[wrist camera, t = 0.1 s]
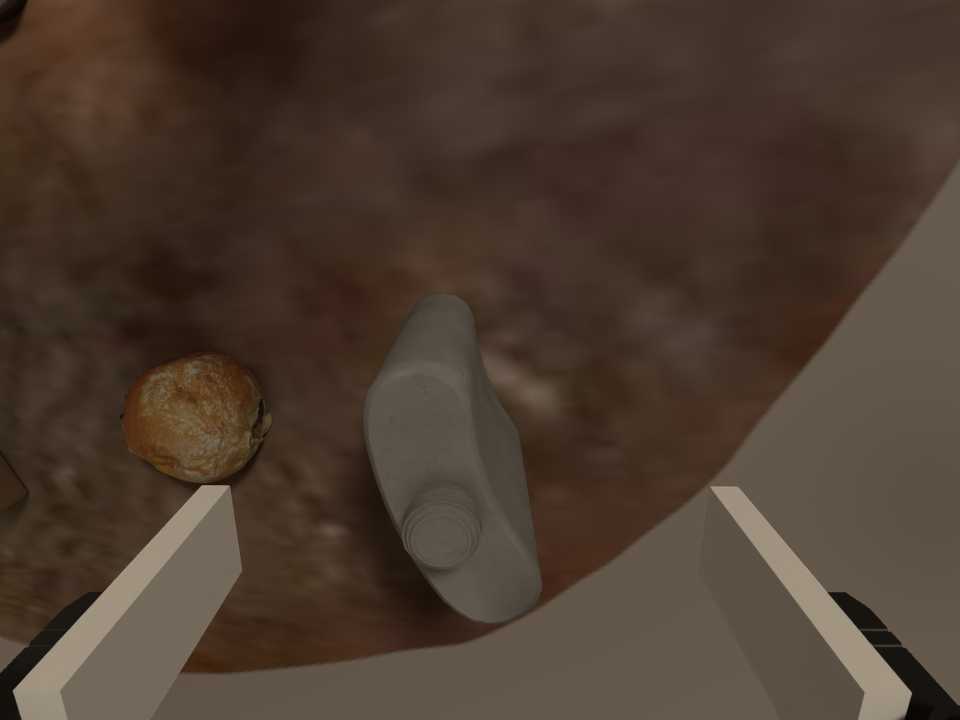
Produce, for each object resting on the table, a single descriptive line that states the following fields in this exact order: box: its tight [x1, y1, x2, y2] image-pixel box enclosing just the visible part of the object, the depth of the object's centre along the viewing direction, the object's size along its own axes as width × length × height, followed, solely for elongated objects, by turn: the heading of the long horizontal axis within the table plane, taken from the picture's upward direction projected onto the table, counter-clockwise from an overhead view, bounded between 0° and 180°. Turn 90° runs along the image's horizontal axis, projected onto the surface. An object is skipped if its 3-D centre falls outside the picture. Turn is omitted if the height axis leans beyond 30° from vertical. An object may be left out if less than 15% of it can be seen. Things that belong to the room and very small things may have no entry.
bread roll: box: [119, 351, 272, 483], centre depth 43 cm, size 10×10×8 cm
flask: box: [363, 293, 542, 625], centre depth 35 cm, size 15×6×20 cm, turn 21°
